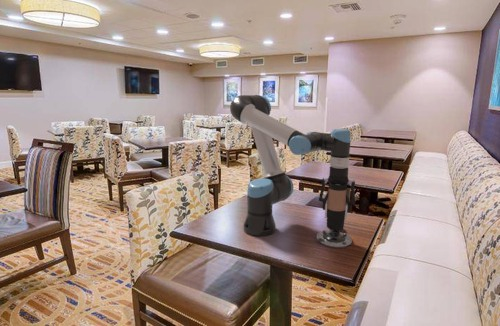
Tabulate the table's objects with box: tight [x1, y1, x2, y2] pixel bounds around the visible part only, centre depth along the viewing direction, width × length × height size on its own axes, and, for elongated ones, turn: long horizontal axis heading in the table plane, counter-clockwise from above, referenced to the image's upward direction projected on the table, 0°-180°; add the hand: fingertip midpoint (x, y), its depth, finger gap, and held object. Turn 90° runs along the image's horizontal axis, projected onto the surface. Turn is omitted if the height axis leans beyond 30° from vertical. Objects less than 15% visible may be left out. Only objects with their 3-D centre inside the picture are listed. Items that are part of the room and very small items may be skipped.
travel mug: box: [326, 182, 348, 231], centre depth 136 cm, size 8×8×20 cm
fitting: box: [316, 229, 353, 249], centre depth 142 cm, size 15×22×6 cm
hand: (335, 217), depth 137 cm, fingers closed on travel mug, 8 cm apart
